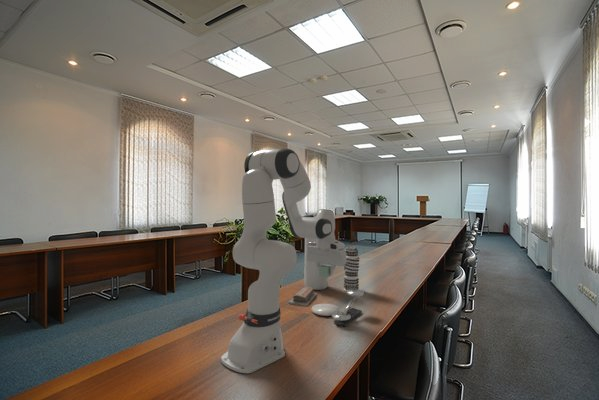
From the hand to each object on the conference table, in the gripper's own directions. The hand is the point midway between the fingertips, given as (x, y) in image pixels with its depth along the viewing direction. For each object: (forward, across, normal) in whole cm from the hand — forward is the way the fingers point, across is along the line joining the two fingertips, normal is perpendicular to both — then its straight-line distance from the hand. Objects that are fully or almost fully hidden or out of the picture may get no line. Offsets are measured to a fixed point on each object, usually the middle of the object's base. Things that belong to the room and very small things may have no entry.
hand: (325, 272), depth 136 cm
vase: (+19, -24, +30) cm, 43 cm away
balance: (+19, +12, 0) cm, 22 cm away
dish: (+18, 0, 0) cm, 19 cm away
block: (+1, 0, 0) cm, 1 cm away
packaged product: (+19, -18, +8) cm, 28 cm away
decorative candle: (+19, -4, +37) cm, 42 cm away
